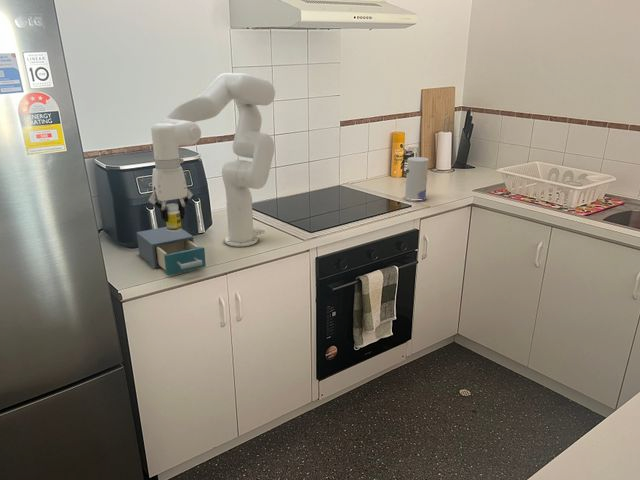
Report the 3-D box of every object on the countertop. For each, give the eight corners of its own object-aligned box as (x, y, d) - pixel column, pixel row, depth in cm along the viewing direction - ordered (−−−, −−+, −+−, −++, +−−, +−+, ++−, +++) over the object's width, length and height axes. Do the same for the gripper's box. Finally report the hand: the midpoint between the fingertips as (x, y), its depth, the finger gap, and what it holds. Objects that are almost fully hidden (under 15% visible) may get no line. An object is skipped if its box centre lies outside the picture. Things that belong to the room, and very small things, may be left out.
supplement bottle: (180, 231, 180) (177, 207, 177) (165, 232, 180) (162, 207, 177) (183, 227, 184) (180, 203, 181) (168, 227, 184) (166, 203, 181)
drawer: (212, 271, 183) (211, 252, 181) (173, 281, 176) (171, 261, 174) (188, 254, 198) (187, 236, 196) (151, 262, 191) (149, 243, 188)
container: (404, 196, 277) (407, 156, 270) (424, 197, 276) (428, 156, 268) (404, 201, 268) (407, 160, 260) (425, 202, 267) (429, 161, 259)
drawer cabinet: (195, 259, 196) (193, 236, 192) (154, 268, 188) (151, 244, 185) (178, 247, 208) (176, 224, 204) (139, 255, 200) (136, 232, 196)
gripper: (188, 158, 181) (193, 212, 188) (136, 165, 172) (144, 220, 179) (197, 162, 175) (202, 217, 182) (145, 169, 166) (152, 226, 173)
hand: (173, 218), depth 181 cm, fingers closed on supplement bottle, 4 cm apart
